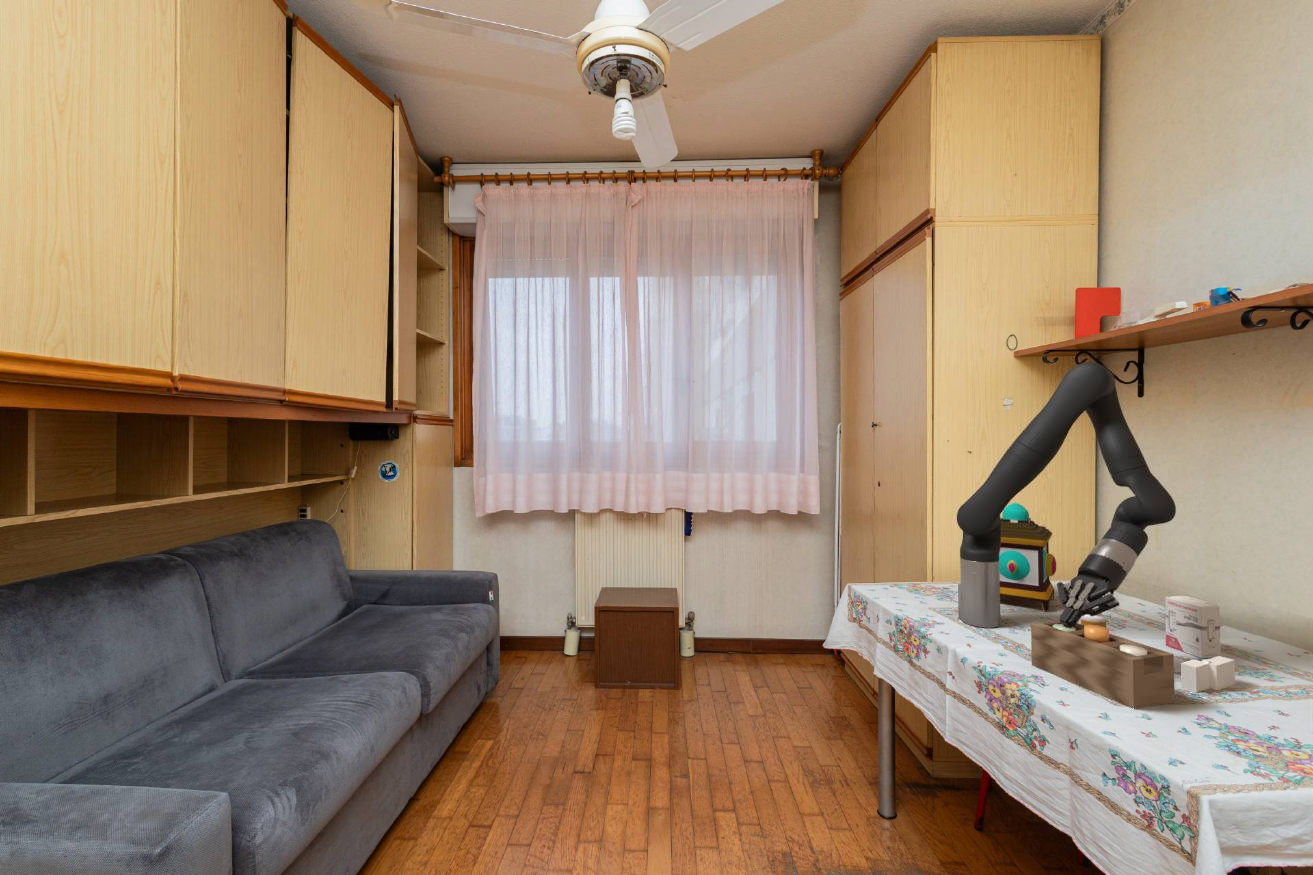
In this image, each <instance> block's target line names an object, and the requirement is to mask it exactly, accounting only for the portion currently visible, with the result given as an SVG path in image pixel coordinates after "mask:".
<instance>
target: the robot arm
mask: <svg viewBox="0 0 1313 875" xmlns="http://www.w3.org/2000/svg"><path fill="white" fill-rule="evenodd" d="M1114 376H1115V375H1114V374H1113V373H1112V371H1110V370H1109V369H1107V367H1105V366H1103V365H1101V364H1100V363H1097V362H1090V361H1089V362H1088V361H1087V362H1082V363H1079V364H1077V365H1075V366H1073V367H1072V368H1070V369H1069V370H1068V371H1067V372H1066V374H1065V375H1064V376H1063V378H1062V379H1061V381H1060V383H1059V384H1058V385H1057V387H1056V389H1055V391H1054V392H1053V394H1052V395H1051V397H1049V398H1050V399H1048V401H1047V403H1046V404H1044V405H1045V406H1044V407H1043V408H1042V409H1041V410H1040V411H1039V413H1037V414H1036V416H1034V418H1033V419H1032V420H1031V421H1030V422H1029V423H1028V424H1027V425H1026V427H1025V428H1024V429H1023V430H1022V431H1021V432H1020V434H1019V435H1018V436H1017V437H1016V439H1015V440H1014V441H1013V442H1012V444H1010V446H1009V447H1008V448H1007V450H1005V452H1004V454H1003V455H1002V456H1001V458H1000V460H999V461H998V462H997V463H996V465H995V467H994V468H992V469H993V470H992V471H991V473H990V474H989V475H988V477H987V479H986V480H985V481H984V483H983V484H982V485H981V486H980V487H979V488H978V489H977V490H976V491H975V492H974V493H973V494H972V496H970V497H969V498H968V499H967V500H966V501H965V502H964V503H963V504H962V505H960V507H959V508H958V510H957V512H956V523H957V526H958V527H959V528H960V530H961V531H962V540H961V545H960V548H959V559H960V563H959V564H960V567H959V568H960V583H958V584H957V603H958V605H957V608H958V609H957V610H958V612H957V613H958V616H957V617H958V619H960V620H961V622H963V623H964V624H966V625H970V626H973V627H977V628H978V627H980V628H987V629H988V628H991V629H992V628H998V627H1000V626H1001V596H1000V572H999V553H1000V548H1001V518H1002V516H1001V514H1002V513H1003V510H1004V509H1005V508H1006V507H1007V506H1008V505H1009V503H1010V502H1011V501H1012V500H1013V498H1015V496H1017V495H1018V494H1019V493H1020V492H1021V491H1023V490H1024V489H1025V488H1026V487H1027V486H1028V485H1030V484H1031V483H1032V482H1034V480H1035V479H1036V478H1037V477H1038V476H1040V474H1041V473H1042V472H1043V471H1044V470H1045V469H1046V468H1047V466H1048V465H1049V464H1050V463H1051V461H1052V460H1053V459H1054V458H1055V456H1056V455H1058V453H1059V451H1060V449H1061V448H1062V447H1063V444H1064V442H1065V440H1066V438H1067V436H1068V434H1069V432H1070V430H1071V428H1072V426H1073V425H1074V423H1075V422H1076V421H1077V420H1078V419H1079V418H1080V416H1081V415H1082V414H1084V413H1086V414H1087V416H1088V417H1089V419H1090V422H1091V423H1092V427H1093V430H1094V431H1095V434H1096V435H1095V436H1096V438H1097V443H1098V446H1099V449H1100V452H1101V456H1102V459H1103V461H1104V463H1105V466H1106V467H1107V470H1108V472H1109V475H1110V478H1111V479H1112V481H1113V482H1114V484H1115V485H1116V486H1118V487H1123V488H1125V487H1126V488H1128V489H1129V490H1130V491H1131V492H1132V493H1133V495H1134V496H1130V497H1127V498H1125V499H1124V500H1122V501H1121V502H1120V503H1119V504H1118V506H1117V507H1116V509H1115V511H1114V514H1113V517H1112V520H1111V523H1110V527H1109V528H1108V530H1107V531H1106V533H1105V534H1104V535H1103V537H1102V538H1101V539H1100V541H1099V542H1098V543H1097V544H1096V545H1095V546H1094V547H1093V548H1092V550H1091V551H1090V552H1089V554H1088V555H1086V558H1085V559H1084V560H1083V561H1082V563H1081V565H1080V566H1079V567H1078V569H1077V575H1076V576H1075V577H1073V578H1072V579H1071V580H1070V582H1067V583H1063V582H1062V581H1060V582H1057V583H1056V587H1057V591H1058V598H1059V602H1060V603H1061V604H1062V605H1063V606H1064V607H1065V608H1064V610H1063V611H1062V612H1061V613H1060V615H1059V616H1058V617H1059V618H1058V621H1060V622H1061V624H1062V625H1063V626H1066V627H1069V628H1072V627H1073V626H1075V625H1076V624H1077V623H1078V621H1079V619H1080V618H1081V617H1082V616H1085V615H1090V616H1095V615H1097V614H1100V613H1101V614H1103V613H1104V612H1107V611H1109V610H1112V609H1114V608H1115V609H1116V608H1117V607H1119V606H1120V602H1119V601H1118V600H1117V598H1116V597H1115V596H1114V593H1115V592H1116V591H1117V590H1118V589H1119V588H1120V586H1121V585H1122V584H1123V582H1124V580H1125V579H1126V577H1127V576H1128V575H1129V573H1130V572H1131V570H1132V568H1134V566H1135V563H1136V561H1137V559H1138V558H1139V556H1140V555H1141V554H1142V552H1143V551H1144V549H1145V547H1146V546H1147V545H1148V541H1149V536H1148V534H1147V532H1146V531H1145V529H1147V527H1150V526H1156V525H1157V526H1158V525H1162V524H1167V523H1170V522H1171V521H1173V519H1174V518H1175V516H1176V512H1177V507H1176V504H1175V500H1174V498H1173V497H1172V495H1171V493H1169V492H1168V490H1167V489H1166V488H1165V486H1163V485H1162V483H1161V482H1160V481H1159V480H1158V478H1156V476H1154V474H1153V473H1152V472H1151V470H1150V468H1149V465H1148V464H1147V461H1146V459H1145V457H1144V455H1143V452H1142V451H1141V449H1140V447H1139V444H1138V443H1137V440H1136V439H1135V437H1134V434H1133V433H1132V431H1131V429H1130V427H1129V425H1128V423H1127V421H1126V419H1125V416H1124V413H1123V410H1122V408H1121V404H1120V401H1119V395H1118V390H1117V386H1116V378H1115V377H1114ZM1095 607H1098V608H1095ZM1093 608H1095V609H1093Z"/></svg>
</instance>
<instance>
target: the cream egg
mask: <svg viewBox="0 0 1313 875" xmlns="http://www.w3.org/2000/svg"><path fill="white" fill-rule="evenodd" d="M1120 650H1121V651H1124V652H1127V653H1130V654H1132V655H1135V656H1142V655H1147V650H1146V649H1144V648H1142V647H1138V646H1133V645H1120Z"/></svg>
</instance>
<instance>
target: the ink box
mask: <svg viewBox="0 0 1313 875" xmlns="http://www.w3.org/2000/svg"><path fill="white" fill-rule="evenodd" d="M1220 609H1221V608H1220V605H1218V604H1217V603H1212V602H1210V601H1207V600H1202V599H1198V598H1194V597H1191V596H1189V595H1188V596H1187V595H1175V596H1173V595H1172V596H1165V646H1167V647H1170V648H1172V649H1175V650H1178V651H1181V652H1184V653H1186V654H1189V655H1192V656H1195V657H1198V658H1201V659H1211V658H1214V657H1217V656H1221V654H1222V653H1221V651H1222V649H1221V614H1220V613H1221V612H1220V611H1221V610H1220ZM1221 657H1222V656H1221Z"/></svg>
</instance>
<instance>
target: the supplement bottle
mask: <svg viewBox="0 0 1313 875" xmlns="http://www.w3.org/2000/svg"><path fill="white" fill-rule="evenodd" d="M1095 608H1098V607H1095ZM1095 608H1093V609H1095ZM1077 623H1078V624H1081V625H1084V626H1085V625H1097V626H1102V627H1105V628H1107V618H1106V616H1105V615H1104V614H1103V613H1100V614H1097V615H1095V616H1090V615H1085V616H1082V617H1081V618H1080V619H1079V621H1078V622H1077Z"/></svg>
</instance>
